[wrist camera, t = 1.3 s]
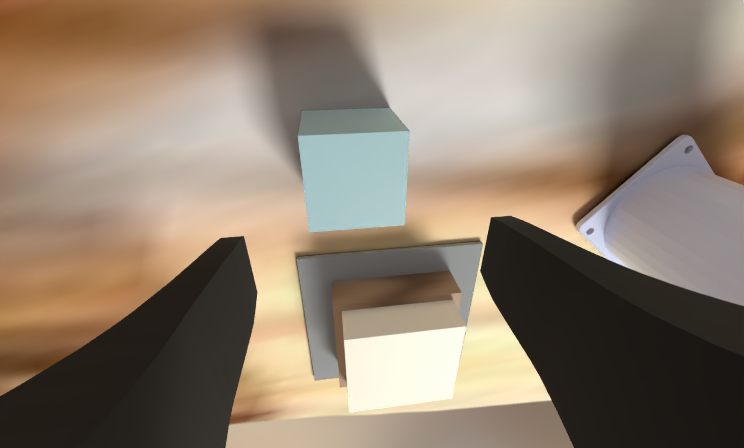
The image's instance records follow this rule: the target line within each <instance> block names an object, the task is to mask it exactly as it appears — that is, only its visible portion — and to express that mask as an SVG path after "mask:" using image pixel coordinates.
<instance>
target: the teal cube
mask: <svg viewBox="0 0 744 448" xmlns="http://www.w3.org/2000/svg"><path fill="white" fill-rule="evenodd" d="M409 133H410V131H409V130H408V129H407V127H406V126H405V125H404V124H403V123H402V121H401V120H400V119H399V118H398V117H397V115H396V114H395V113H394V112H393V111H392V109H391V108H363V109H335V110H306V111H302V114H301V120H300V126H299V131H298V143H299V151H300V160H301V168H302V176H303V185H304V193H305V202H306V210H307V218H308V227H309V232H322V231H335V230H348V229H361V228H374V227H388V226H401V225H405V208H406V189H407V171H408V152H409Z"/></svg>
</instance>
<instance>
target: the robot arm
mask: <svg viewBox="0 0 744 448" xmlns="http://www.w3.org/2000/svg"><path fill="white" fill-rule="evenodd" d="M588 229H589V230H588ZM576 230H577V231H578V232H579V233H580V234H581V235H582V236H583V237H584V238H585V239H586V240H587V241H589V242H590V243H591V244H592V245H593V246H594V247H595V248H596V249H597V250H598V251H599V252H600V253H601V254H602V255H603V256H604V257H605V258H603V257H601V256H599V255H596V254H594V253H592V252H590V251H587V250H585V249H583V248H581V247H579V246H576V245H574V244H572V243H570V242H568V241H566V240H564V239H562V238H559V237H557V236H555V235H553V234H551V233H549V232H547V231H545V230H543V229H541V228H538V227H536V226H534V225H532V224H530V223H527V222H525V221H523V220H520V219H518V218H515V217H512V216H503V217H491V221H490V226H489V231H488V236H487V240H486V245H485V250H484V255H483V260H482V265H481V270H480V272H481V274H482V277H483V279H484V281H485V284H486V286H487V288H488V290H489V293H490V295H491V297H492V299H493V301H494V302H495V304H496V306H497V307H498V309H499V311H500V312H501V314H502V316H503V317H504V319H505V321H506V322H507V324H508V325H509V327H510V328H511V330H512V332H513V333H514V335H515V336H516V338H517V340H518V341H519V343H520V344H521V346H522V348H523V349H524V351H525V352H526V354H527V356H528V357H529V359H530V360H531V362H532V364H533V365H534V367H535V369H536V371H537V372H538V374H539V376H540V378H541V380H542V382H543V384H544V386H545V388H546V390H547V392H548V394H549V396H550V398H551V400H552V402H553V404H554V406H555V408H556V410H557V411H558V414H559V416H560V418H561V420H562V423H563V425H564V427H565V429H566V431H567V433H568V436H569V438H570V440H571V442H572V444H573V446H574V448H744V186H743V185H741V184H738V183H735V182H733V181H730V180H728V179H725V178H722V177H720V176H717V175H715V174H714V172H713V171H712V169H711V167H710V166H709V164H708V162H707V161H706V159H705V158H704V156H703V154H702V153H701V151H700V149H699V148H698V146H697V144H696V143H695V141H694V139H693V138H692V137H691V136H688V135H681V136H679V137H678V138H676V139H675V140H674V141H673V142H671V143H670V144H669V145H668V146H667V147H666V148H664V149H663V150H662V151H661V152H660V153H659V154H657V155H656V156H655V157H654V158H653V159H651V160H650V161H649V162H648V163H647V164H646V165H644V166H643V167H642V168H641V169H640V170H639V171H637V172H636V173H635V174H634V175H633V176H632V177H630V178H629V179H628V180H627V181H626V182H625V183H623V184H622V185H621V186H620V187H619V188H617V189H616V190H615V191H614V192H613V193H612V194H610V195H609V196H608V197H607V198H606V199H605V200H603V201H602V202H601V203H600V204H599V205H598V206H596V207H595V208H594V209H593V210H592V211H591V212H589V213H588V214H587V215H586V216H585V217H583V218H582V219H581V220H580V221H579V222H578V223H577V225H576ZM587 230H588V231H587ZM256 300H257V289H256V285H255V281H254V277H253V272H252V268H251V264H250V260H249V256H248V252H247V247H246V243H245V239H244V236H241V237H228V238H220V239H219V240H218V241H217V242H215V243H214V244H213V245H212V246H211V247H209V248H208V249H207V250H206V251H205V252H204V253H203V254H201V255H200V256H199V257H198V258H197V259H196V260H195V261H194V262H193V263H191V264H190V265H189V266H188V267H187V268H186V269H184V270H183V271H182V272H181V273H180V274H179V275H178V276H176V277H175V278H174V279H173V280H172V281H171V282H169V283H168V284H167V285H166V286H165V287H163V288H162V289H161V290H160V291H158V292H157V293H156V294H154V295H153V296H152V297H151V298H149V299H148V300H147V301H146V302H144V303H143V304H142V305H141V306H139V307H138V308H137V309H136V310H134V311H133V312H132V313H130V314H129V315H128V316H126V317H125V318H124V319H122V320H121V321H119V322H118V323H117V324H115V325H114V326H113V327H111V328H110V329H108V330H107V331H105V332H104V333H102V334H101V335H99V336H98V337H96V338H95V339H93V340H92V341H90V342H89V343H88V344H86V345H85V346H83V347H81V348H80V349H78V350H77V351H75V352H74V353H72V354H70V355H69V356H67V357H65V358H64V359H62V360H60V361H59V362H57V363H56V364H54V365H52V366H51V367H49V368H47V369H46V370H44V371H42V372H41V373H39V374H37V375H36V376H34V377H32V378H31V379H29V380H27V381H26V382H24V383H22V384H21V385H19V386H17V387H16V388H14V389H12V390H10V391H9V392H7V393H5V394H3V395H1V396H0V448H225V446H226V440H227V434H228V427H229V421H230V416H231V412H232V407H233V402H234V398H235V394H236V391H237V387H238V383H239V379H240V375H241V371H242V368H243V364H244V360H245V356H246V352H247V348H248V344H249V340H250V337H251V333H252V328H253V324H254V317H255V309H256Z"/></svg>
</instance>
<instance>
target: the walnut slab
mask: <svg viewBox="0 0 744 448" xmlns="http://www.w3.org/2000/svg"><path fill="white" fill-rule="evenodd" d="M461 294H462V292H461V290H460V288H459V287H458V285H457V283H456V281H455V279H454V277H453V275H452V273H451V272H450V271H441V272H430V273H419V274H409V275H398V276H387V277H377V278H366V279H355V280H345V281H334V282H332V299H333V313H334V324H335V336H336V347H337V358H338V370H339V381H340V387H347V379H346V365H345V351H344V337H343V323H342V311H347V310H357V309H367V308H376V307H386V306H395V305H405V304H415V303H424V302H434V301H443V300H454V302H455V304H456V306H457V309H458V311H459V306H460V300H461Z"/></svg>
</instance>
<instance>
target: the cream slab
mask: <svg viewBox="0 0 744 448" xmlns="http://www.w3.org/2000/svg"><path fill="white" fill-rule="evenodd" d="M342 323H343V337H344V351H345V365H346V379H347V392H348V404H349V413H351V412H359V411H366V410H373V409H380V408H387V407H395V406H402V405H409V404H416V403H423V402H430V401H438V400H445V399H452V396H453V390H454V385H455V380H456V375H457V370H458V365H459V360H460V355H461V350H462V345H463V340H464V335H465V330H466V325H465V323H464V321H463V319H462V317H461V315H460V313H459V311H458V309H457V306H456V304H455V302H454V300H443V301H434V302H424V303H415V304H405V305H395V306H386V307H376V308H367V309H357V310H347V311H342Z"/></svg>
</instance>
